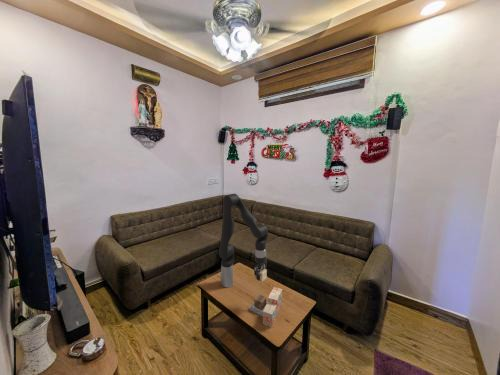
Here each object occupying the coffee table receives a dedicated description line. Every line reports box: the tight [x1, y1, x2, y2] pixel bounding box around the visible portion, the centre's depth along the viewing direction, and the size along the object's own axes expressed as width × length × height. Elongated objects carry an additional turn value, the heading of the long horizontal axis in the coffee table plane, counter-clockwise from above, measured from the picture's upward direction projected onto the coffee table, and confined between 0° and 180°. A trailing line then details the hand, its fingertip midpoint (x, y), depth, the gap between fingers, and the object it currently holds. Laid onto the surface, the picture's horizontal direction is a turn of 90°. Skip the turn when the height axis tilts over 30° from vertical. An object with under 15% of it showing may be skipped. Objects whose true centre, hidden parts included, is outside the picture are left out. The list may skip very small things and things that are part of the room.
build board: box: [248, 301, 268, 318], centre depth 143 cm, size 11×12×1 cm
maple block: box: [254, 268, 268, 283], centre depth 143 cm, size 6×6×6 cm
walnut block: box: [253, 293, 267, 310], centre depth 142 cm, size 6×6×6 cm
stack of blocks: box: [262, 286, 283, 328], centre depth 137 cm, size 21×6×12 cm, turn 155°
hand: (260, 277), depth 143 cm, fingers closed on maple block, 6 cm apart
